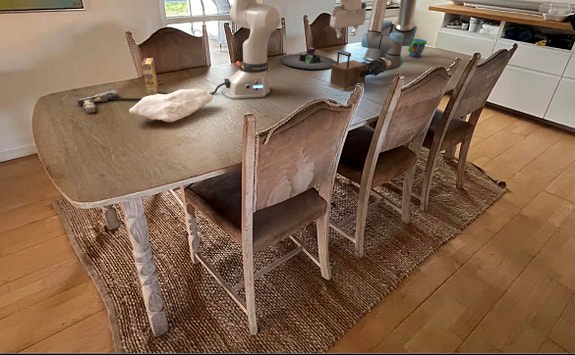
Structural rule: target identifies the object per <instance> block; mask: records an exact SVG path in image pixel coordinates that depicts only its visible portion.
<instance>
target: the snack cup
mask: <svg viewBox="0 0 575 355" xmlns="http://www.w3.org/2000/svg"><path fill="white" fill-rule="evenodd" d="M427 42H428V41H427V40H425V39H422V38H414V39H413V42H412V45H411V46H408V50H407V51H408V53H409V56H410V57H414V58H420V57H421V56H422V54H423V52H424V50H425V48H426V44H428V43H427Z"/></svg>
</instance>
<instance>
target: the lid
mask: <svg viewBox="0 0 575 355" xmlns="http://www.w3.org/2000/svg"><path fill="white" fill-rule="evenodd" d="M336 54H337V58H336V62H337V63H336V64H331V67H330V68H332V67H333V68H336V69H339V70H342V71H349V70H353V69H358V68H362V67H366V66H367V64H364V63H361V62H362V61H359V60H358V61H357V60H354V59H352V60H350V59H351V56H352V53H351V52H348V51H345V50H342V49H337V50H336ZM340 55H341V56H345V57H347V60H345V61H341V62H340Z"/></svg>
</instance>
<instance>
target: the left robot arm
mask: <svg viewBox="0 0 575 355" xmlns="http://www.w3.org/2000/svg"><path fill="white" fill-rule="evenodd" d="M367 7H368V4H367V3H366V2H364V1H362V0H340V1H339V5H335V6H334V7H333V8H332V12H331V14H330V21H329V26H330V28H332V29H335V33H336V38H337V39H341V38H342V36H343V34H342V33H341V30H342V28H349V27H350V28H351V27H352V29H351V31H350V36H351V37H353V36H356V32H357V30H358V29H359V26H363V25H364V24H365V21H366V15H367V11H366V9H367ZM229 16H230V20H231V21H232V22H233V23H234V24H235V25H237V26H238V27H240V28H243V29H249V32H250V33H249V35H248V38H247V39H246V40H244V42H243V43H242V59H243V60H242V61H236V62H235V65H236V66H237V67H239V69H237V71H236V72H235V73H234V74H232V75H231V76H230V77H229V78H224V81H223V82H222V83H220V84H218V85H217V86H216V87H215V89H214V91H212V92H209V93H210V94H212V95H214V94H216V93H217V92H218V89H219V88H221V87H222V86H225V87H224V88H223V91H222V92H223V94H224V95H225V96H226V97H228V98H230V99H233V100H236V99H237V100H238V99H239V100H240V99H253V98H254V99H255V98H264V97H266V95H268V94H269V93H270V92H271V88H270V84H269V78H268V76H269V75H268V72H269V61H268V47H269V46H268V45H269V40H270V38H271V36H272V34H273V33H274V32H275V31H276V30H277V29H279V26H280V23H281V15H280V12H279V10H278V9H277V8H276V7H273V6H271V5H269V4H266V3H260V2H258V1H257V0H234V1H233V3H232V5H231V7H230V10H229ZM142 98H143V97H112V98H108V100H107V101H140V100H141V99H142Z"/></svg>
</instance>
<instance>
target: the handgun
mask: <svg viewBox="0 0 575 355" xmlns="http://www.w3.org/2000/svg"><path fill="white" fill-rule="evenodd" d="M119 96H120V94H119V92H118V91H117V90H116V89H112V90H108V91H105V92H104V91H103V92H101V93H96V94H94V95H86V94H85V95H84V94H83V95H81V96H80V97H77V98H76V101H77V104H78V105H82V108H83V109H84V110H85V113H87V114H91V113H95V112H96V104H95V103H98V102H106V101H109V100H108V98H119Z"/></svg>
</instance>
